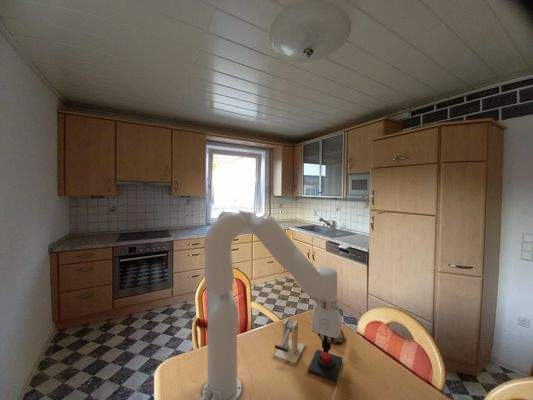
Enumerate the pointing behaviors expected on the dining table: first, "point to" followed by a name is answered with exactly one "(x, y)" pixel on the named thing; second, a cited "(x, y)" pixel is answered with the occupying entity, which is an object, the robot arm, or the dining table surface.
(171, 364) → the dining table surface
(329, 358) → the button
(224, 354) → the robot arm
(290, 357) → the toaster bracket
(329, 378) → the control block
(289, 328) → the toaster lever
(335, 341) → the bread roll
